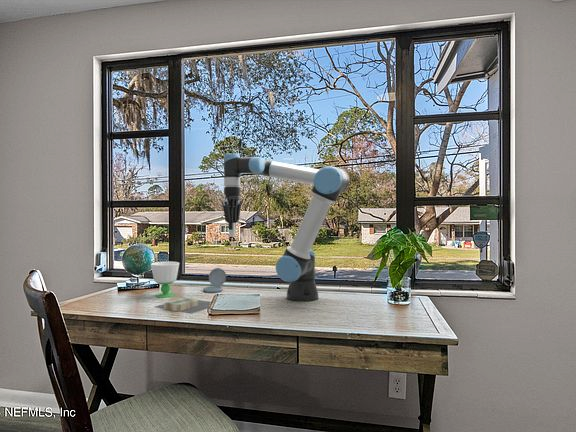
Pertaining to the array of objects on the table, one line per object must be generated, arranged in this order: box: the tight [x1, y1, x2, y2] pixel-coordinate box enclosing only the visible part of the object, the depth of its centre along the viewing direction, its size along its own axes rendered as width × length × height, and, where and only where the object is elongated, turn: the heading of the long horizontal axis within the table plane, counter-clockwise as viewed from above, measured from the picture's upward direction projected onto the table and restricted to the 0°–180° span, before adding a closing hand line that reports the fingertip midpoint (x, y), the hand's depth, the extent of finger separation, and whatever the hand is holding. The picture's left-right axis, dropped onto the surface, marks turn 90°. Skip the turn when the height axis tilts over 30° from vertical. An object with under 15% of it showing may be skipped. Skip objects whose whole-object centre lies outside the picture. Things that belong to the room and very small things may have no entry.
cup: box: [150, 261, 180, 298], centre depth 212 cm, size 14×14×16 cm
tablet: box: [163, 297, 199, 312], centre depth 186 cm, size 8×3×12 cm
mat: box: [154, 299, 212, 315], centre depth 190 cm, size 22×20×1 cm
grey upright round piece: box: [202, 267, 227, 294], centre depth 223 cm, size 10×11×15 cm
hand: (232, 236), depth 205 cm, fingers closed
